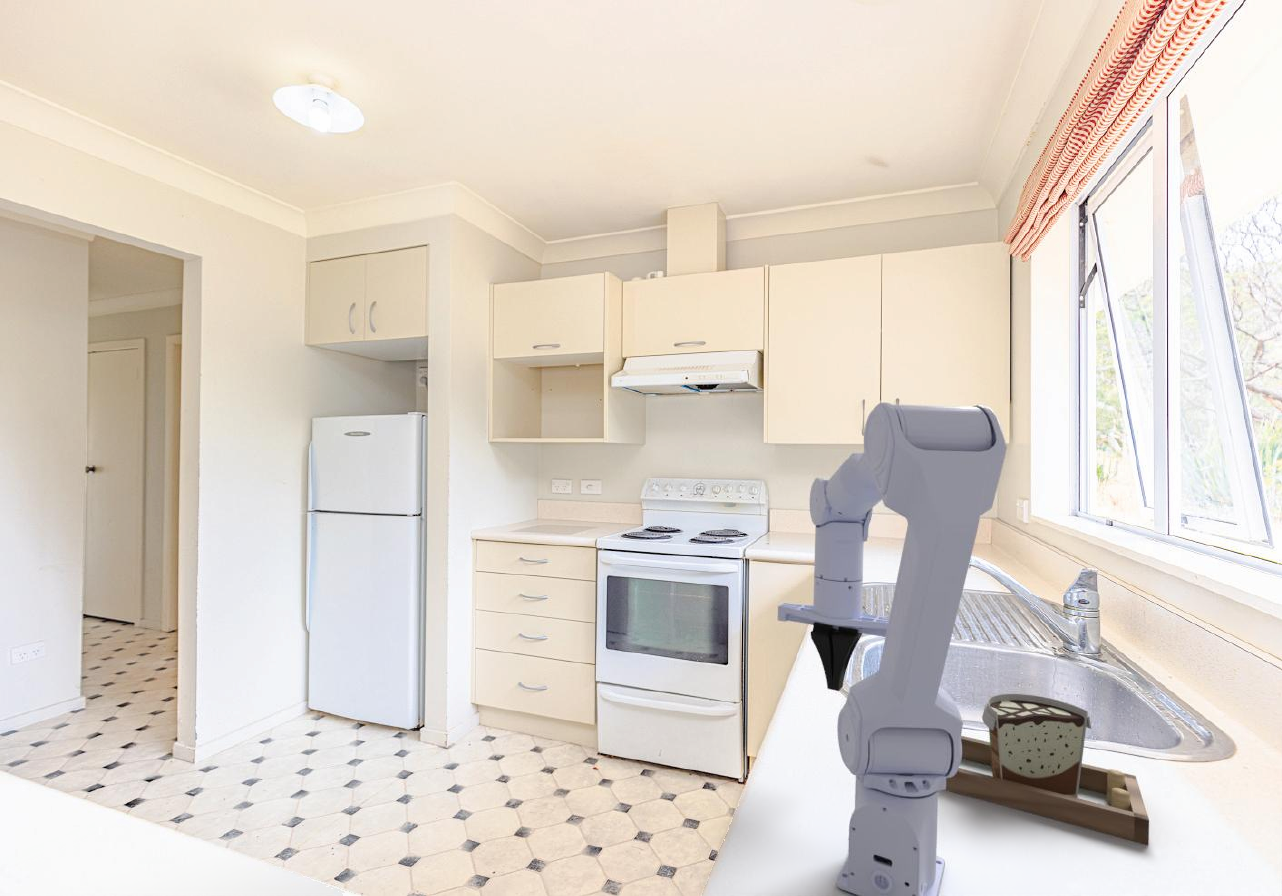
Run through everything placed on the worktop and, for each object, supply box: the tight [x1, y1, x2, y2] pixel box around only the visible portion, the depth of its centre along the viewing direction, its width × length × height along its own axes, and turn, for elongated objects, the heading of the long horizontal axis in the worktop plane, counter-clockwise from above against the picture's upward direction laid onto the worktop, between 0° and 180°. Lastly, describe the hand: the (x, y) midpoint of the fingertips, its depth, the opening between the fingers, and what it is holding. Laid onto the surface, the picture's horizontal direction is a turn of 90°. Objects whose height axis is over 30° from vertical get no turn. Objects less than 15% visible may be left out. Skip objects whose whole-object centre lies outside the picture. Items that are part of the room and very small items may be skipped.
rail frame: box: [944, 735, 1150, 846], centre depth 76 cm, size 11×20×4 cm, turn 58°
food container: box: [981, 693, 1092, 798], centre depth 78 cm, size 12×6×10 cm, turn 96°
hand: (835, 687), depth 80 cm, fingers closed
